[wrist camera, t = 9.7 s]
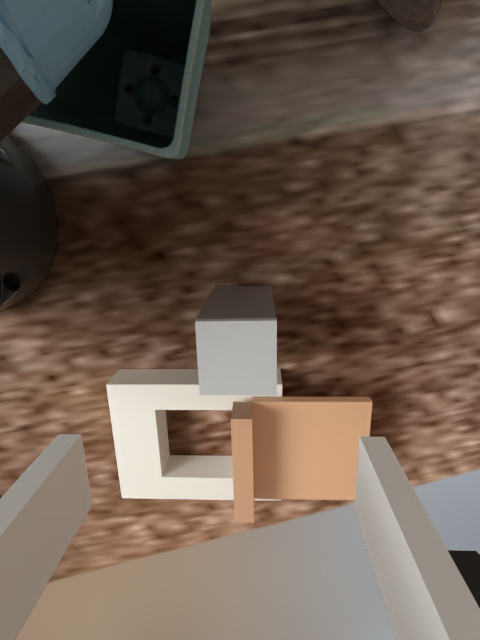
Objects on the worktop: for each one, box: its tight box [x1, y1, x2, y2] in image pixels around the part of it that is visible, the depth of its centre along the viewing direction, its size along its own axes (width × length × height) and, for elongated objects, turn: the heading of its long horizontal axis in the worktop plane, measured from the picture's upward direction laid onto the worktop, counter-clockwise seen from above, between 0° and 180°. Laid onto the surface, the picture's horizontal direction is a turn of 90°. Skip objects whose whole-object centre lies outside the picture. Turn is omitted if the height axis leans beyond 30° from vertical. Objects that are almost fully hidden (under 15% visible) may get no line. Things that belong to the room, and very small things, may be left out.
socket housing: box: [106, 369, 282, 501], centre depth 32 cm, size 11×14×3 cm
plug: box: [195, 285, 277, 395], centre depth 26 cm, size 4×4×10 cm
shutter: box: [231, 397, 372, 523], centre depth 29 cm, size 9×10×3 cm
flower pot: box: [22, 0, 211, 159], centre depth 22 cm, size 9×9×9 cm
